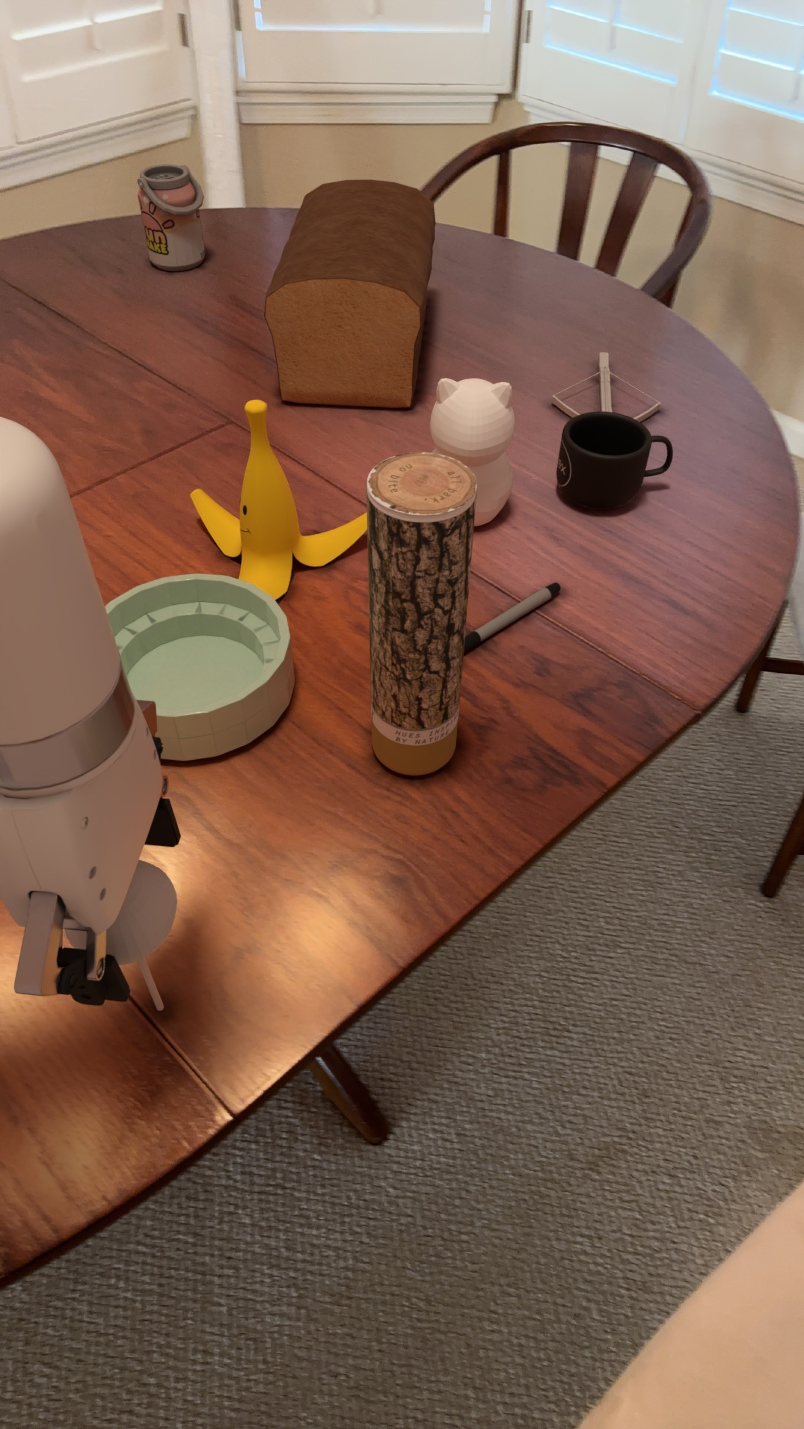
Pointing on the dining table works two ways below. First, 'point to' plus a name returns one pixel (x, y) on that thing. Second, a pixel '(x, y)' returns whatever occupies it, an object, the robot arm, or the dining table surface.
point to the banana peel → (269, 519)
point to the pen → (511, 615)
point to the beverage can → (171, 216)
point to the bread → (353, 295)
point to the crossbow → (604, 391)
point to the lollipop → (139, 922)
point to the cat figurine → (477, 437)
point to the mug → (605, 459)
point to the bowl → (205, 660)
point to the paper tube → (418, 605)
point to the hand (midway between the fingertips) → (129, 912)
